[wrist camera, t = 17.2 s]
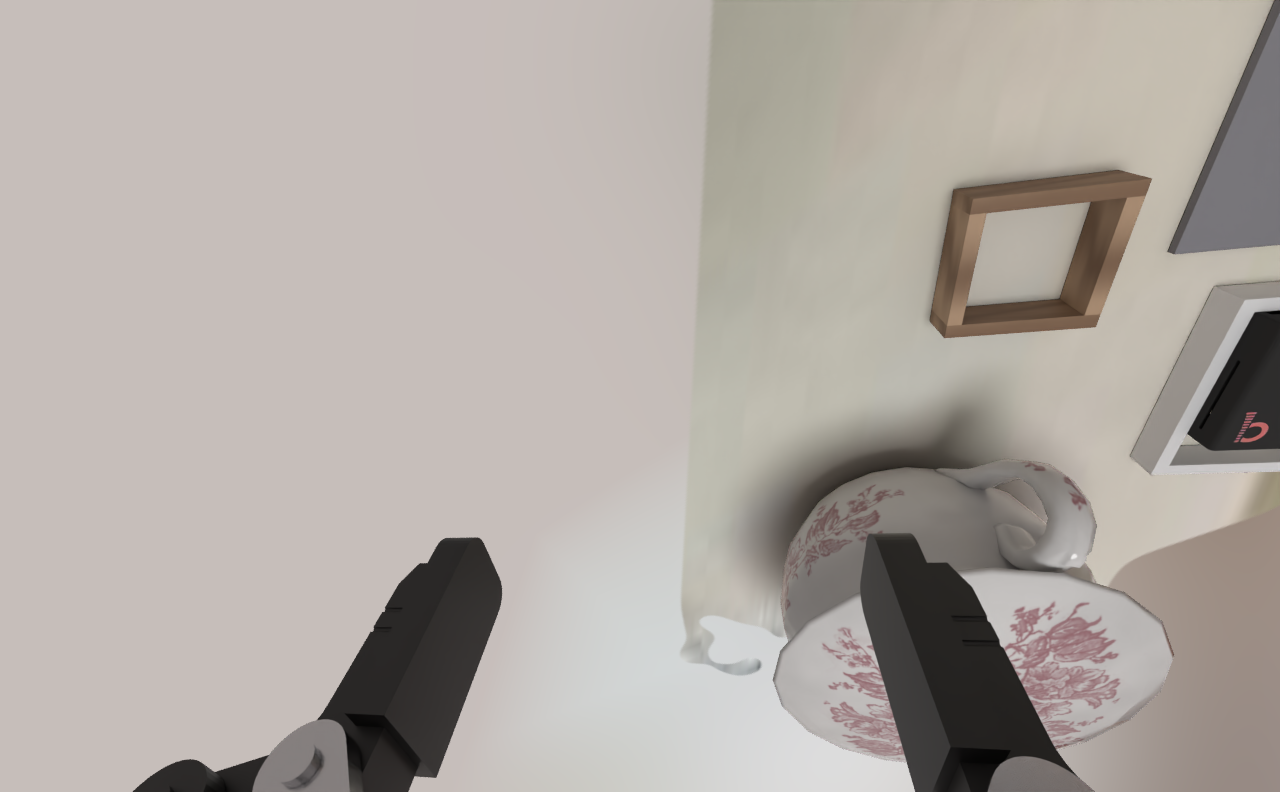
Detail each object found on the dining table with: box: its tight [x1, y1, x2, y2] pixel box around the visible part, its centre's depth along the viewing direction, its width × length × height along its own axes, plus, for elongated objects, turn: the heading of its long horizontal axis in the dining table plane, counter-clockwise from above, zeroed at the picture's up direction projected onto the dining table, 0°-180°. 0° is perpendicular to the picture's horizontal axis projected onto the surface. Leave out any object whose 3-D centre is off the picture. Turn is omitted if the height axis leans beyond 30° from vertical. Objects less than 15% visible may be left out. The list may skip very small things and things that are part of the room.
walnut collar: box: [930, 170, 1152, 338], centre depth 35 cm, size 10×10×3 cm
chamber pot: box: [773, 459, 1174, 762], centre depth 44 cm, size 28×28×21 cm
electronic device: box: [1187, 310, 1280, 451], centre depth 37 cm, size 7×11×5 cm
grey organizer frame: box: [1130, 281, 1280, 475], centre depth 39 cm, size 16×12×2 cm
